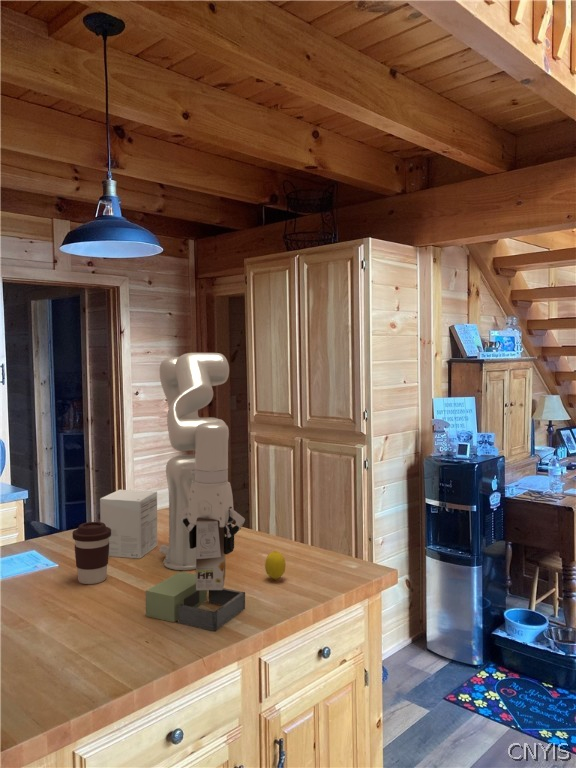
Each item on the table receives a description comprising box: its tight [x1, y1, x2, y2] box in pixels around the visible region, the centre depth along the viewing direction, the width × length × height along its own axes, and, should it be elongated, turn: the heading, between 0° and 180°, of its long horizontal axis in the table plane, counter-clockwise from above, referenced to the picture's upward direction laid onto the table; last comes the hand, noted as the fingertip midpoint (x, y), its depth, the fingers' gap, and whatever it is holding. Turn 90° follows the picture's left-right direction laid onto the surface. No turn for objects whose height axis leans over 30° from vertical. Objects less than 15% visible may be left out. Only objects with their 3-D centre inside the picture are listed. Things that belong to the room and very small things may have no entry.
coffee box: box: [195, 518, 226, 591], centre depth 145 cm, size 9×6×16 cm
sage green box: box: [145, 571, 208, 623], centre depth 150 cm, size 8×14×6 cm, turn 155°
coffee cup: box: [72, 521, 111, 585], centre depth 167 cm, size 10×10×15 cm
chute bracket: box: [177, 587, 246, 632], centre depth 146 cm, size 10×14×4 cm
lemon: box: [264, 550, 286, 581], centre depth 169 cm, size 6×6×8 cm
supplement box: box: [99, 489, 158, 560], centre depth 192 cm, size 13×13×18 cm
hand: (211, 549), depth 145 cm, fingers closed on coffee box, 8 cm apart
